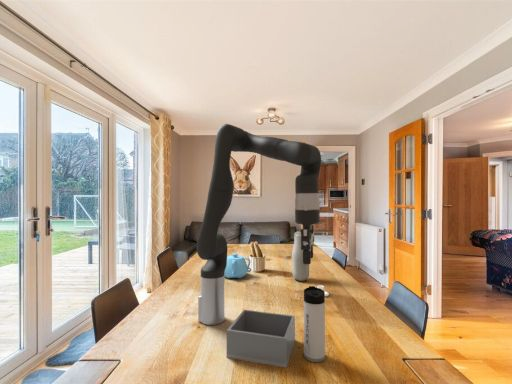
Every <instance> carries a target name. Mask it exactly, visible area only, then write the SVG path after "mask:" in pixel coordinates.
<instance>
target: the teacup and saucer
mask: <svg viewBox="0 0 512 384" xmlns="http://www.w3.org/2000/svg"><path fill="white" fill-rule="evenodd" d="M316 286H317V287H316V288H320V289H322V290H323V291H324V292H325V297H328V296H329V295H330V294H329V293H330V292H327V291H325V290H324V288H325V286H324V285H322V284H321V285H319V284H318V285H316Z"/></svg>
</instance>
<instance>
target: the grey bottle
mask: <svg viewBox="0 0 512 384" xmlns="http://www.w3.org/2000/svg"><path fill="white" fill-rule="evenodd" d="M293 238H294V241H293V245H292V246H293V247H292V250H291V262H292V263H291V264H292V265H291V266H292V268H291V269H292V270H291V271H292V277H293V279H295V280H296V281H299V282H305V281H307V280H308V278H309V277H310V264H303V251H302V250H301V230H299V231H296V232H294V234H293ZM304 246H306V245H304Z"/></svg>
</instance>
